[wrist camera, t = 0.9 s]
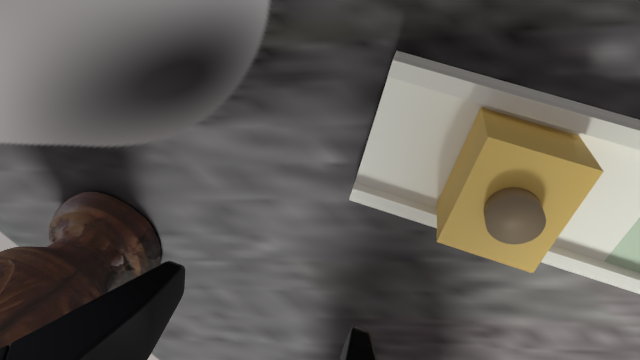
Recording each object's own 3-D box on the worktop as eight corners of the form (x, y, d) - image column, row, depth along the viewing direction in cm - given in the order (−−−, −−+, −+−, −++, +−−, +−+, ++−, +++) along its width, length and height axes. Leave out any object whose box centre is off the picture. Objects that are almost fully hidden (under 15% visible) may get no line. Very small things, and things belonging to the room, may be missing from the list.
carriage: (520, 229, 19) (536, 287, 16) (436, 202, 20) (436, 254, 17) (579, 135, 17) (611, 183, 14) (481, 107, 17) (490, 146, 14)
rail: (715, 298, 20) (763, 361, 17) (354, 183, 22) (341, 222, 19) (846, 178, 16) (936, 233, 13) (396, 50, 18) (387, 73, 15)
